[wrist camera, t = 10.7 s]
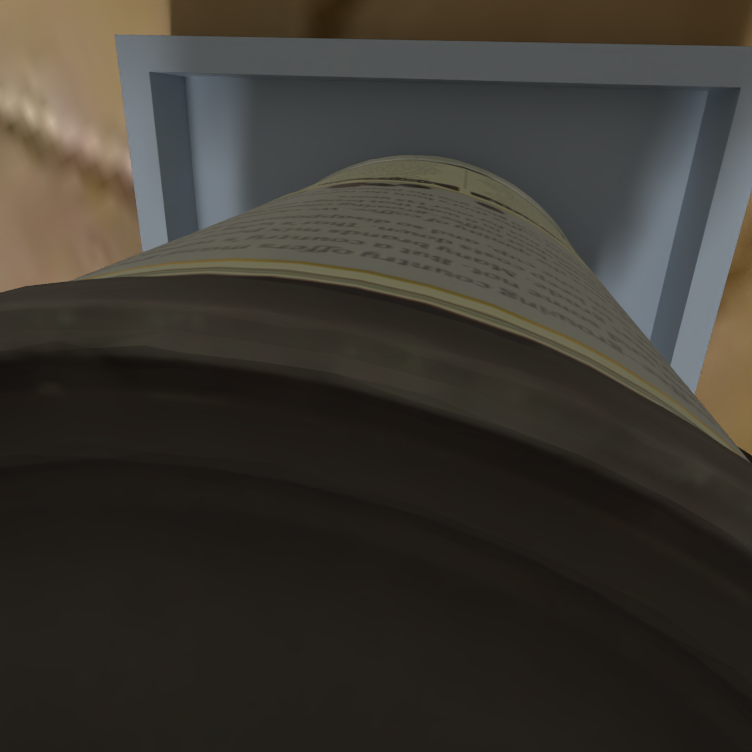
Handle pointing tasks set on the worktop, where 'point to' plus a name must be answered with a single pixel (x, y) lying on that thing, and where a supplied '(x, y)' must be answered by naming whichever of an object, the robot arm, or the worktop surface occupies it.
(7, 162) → the worktop surface
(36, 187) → the worktop surface
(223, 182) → the tray
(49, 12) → the worktop surface
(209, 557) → the coffee can
